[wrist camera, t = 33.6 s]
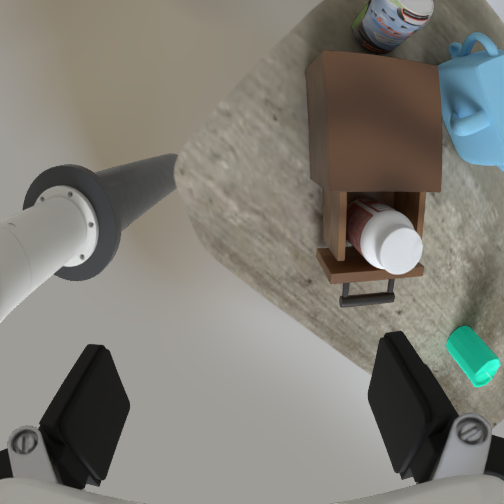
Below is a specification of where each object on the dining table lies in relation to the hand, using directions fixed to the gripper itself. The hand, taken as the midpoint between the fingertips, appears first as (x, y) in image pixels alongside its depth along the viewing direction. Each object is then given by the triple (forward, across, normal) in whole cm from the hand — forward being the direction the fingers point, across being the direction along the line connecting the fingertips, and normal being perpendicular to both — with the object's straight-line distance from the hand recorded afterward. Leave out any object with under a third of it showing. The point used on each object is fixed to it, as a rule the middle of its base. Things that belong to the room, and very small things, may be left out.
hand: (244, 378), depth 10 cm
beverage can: (+31, -17, -22) cm, 41 cm away
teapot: (+31, -32, -12) cm, 46 cm away
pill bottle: (+28, -14, +3) cm, 32 cm away
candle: (+31, -37, +26) cm, 55 cm away
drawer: (+29, -14, +4) cm, 33 cm away
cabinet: (+30, -14, -9) cm, 35 cm away
